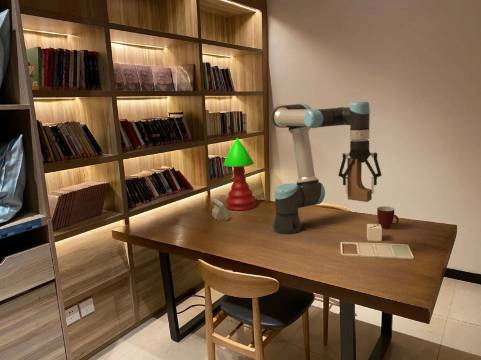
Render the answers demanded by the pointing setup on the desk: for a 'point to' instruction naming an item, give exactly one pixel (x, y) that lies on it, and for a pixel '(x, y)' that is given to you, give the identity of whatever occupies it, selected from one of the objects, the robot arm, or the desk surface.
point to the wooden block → (357, 183)
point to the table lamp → (239, 178)
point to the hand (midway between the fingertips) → (359, 192)
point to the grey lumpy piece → (219, 210)
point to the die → (374, 232)
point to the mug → (386, 217)
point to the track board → (380, 250)
